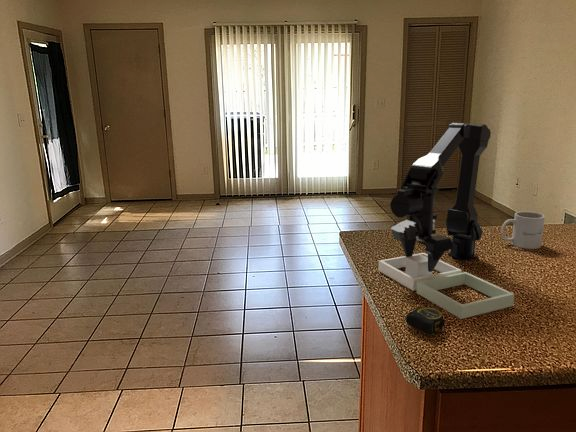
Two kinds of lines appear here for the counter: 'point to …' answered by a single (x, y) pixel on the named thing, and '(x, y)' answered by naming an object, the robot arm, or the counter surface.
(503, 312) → the counter surface
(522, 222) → the mug
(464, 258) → the robot arm
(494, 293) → the bin
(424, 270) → the stone cube
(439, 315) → the tape measure
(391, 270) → the bin
